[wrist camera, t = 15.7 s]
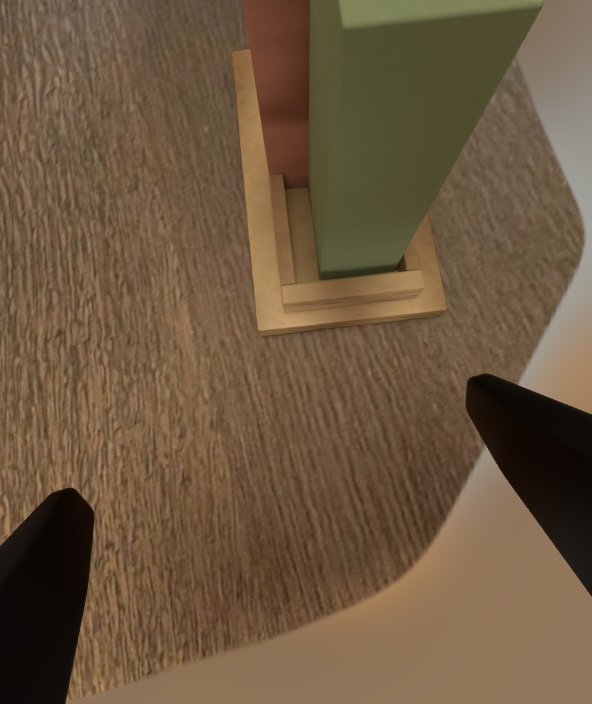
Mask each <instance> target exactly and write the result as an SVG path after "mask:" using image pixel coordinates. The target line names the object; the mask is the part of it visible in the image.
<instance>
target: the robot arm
mask: <svg viewBox="0 0 592 704" xmlns="http://www.w3.org/2000/svg"><path fill="white" fill-rule="evenodd" d="M466 409H467V412H468V414H469V416H470V418H471V420H472V422H473V423H474V425H475V427H476V428H477V430H478V432H479V434H480V435H481V437H482V439H483V441H484V442H485V444H486V446H487V448H488V449H489V451H490V453H491V455H492V456H493V458H494V460H495V461H496V463H497V465H498V467H499V468H500V470H501V471H502V473H503V475H504V476H505V477H506V479H507V480H508V482H509V483H510V484H511V486H512V487H513V489H514V490H515V492H516V493H517V494H518V496H519V497H520V498H521V500H522V501H523V502H524V504H525V505H526V507H527V508H528V509H529V511H530V512H531V513H532V515H533V516H534V518H535V519H536V520H537V522H538V523H539V525H540V526H541V527H542V528H543V530H544V531H545V533H546V534H547V536H548V537H549V538H550V540H551V541H552V542H553V544H554V545H555V547H556V548H557V549H558V551H559V552H560V553H561V555H562V556H563V558H564V559H565V560H566V562H567V563H568V564H569V566H570V567H571V569H572V570H573V571H574V573H575V574H576V575H577V577H578V578H579V580H580V581H581V582H582V584H583V585H584V587H585V588H586V589H587V591H588V592H589V594H590V595H591V596H592V414H589V413H587V412H584V411H582V410H579V409H577V408H574V407H572V406H569V405H567V404H564V403H562V402H559V401H556V400H554V399H551V398H549V397H546V396H544V395H541V394H539V393H536V392H533V391H531V390H529V389H526V388H524V387H521V386H519V385H516V384H514V383H511V382H509V381H506V380H504V379H501V378H499V377H496V376H493V375H491V374H487V373H485V374H481V375H477V376H473V377H471V378H469V379H468V381H467V391H466ZM93 529H94V512H93V510H92V508H91V506H90V505H89V504H88V503H87V502H86V501H85V499H84V498H83V497H82V496H81V495H80V494H79V493H78V491H77V490H76V489H73V488H66V489H63V490H59V491H55V492H53V493H51V494H50V495H49V496H48V497H47V498H46V499H45V500H44V501H43V502H42V503H41V504H40V505H39V506H38V507H37V508H36V509H35V510H34V511H33V512H32V513H31V514H30V516H29V517H28V518H27V519H26V520H25V521H24V522H23V523H22V524H21V525H20V526H19V527H18V528H17V529H16V530H15V531H14V532H13V533H12V534H11V535H10V536H9V537H8V538H7V540H6V541H5V542H4V543H3V544H2V545H1V546H0V704H65V703H66V698H67V693H68V688H69V683H70V677H71V672H72V667H73V662H74V657H75V652H76V647H77V642H78V637H79V632H80V627H81V622H82V616H83V611H84V606H85V601H86V595H87V589H88V581H89V572H90V561H91V550H92V540H93Z"/></svg>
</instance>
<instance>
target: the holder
mask: <svg viewBox="0 0 592 704" xmlns="http://www.w3.org/2000/svg"><path fill="white" fill-rule="evenodd" d="M243 5H244V12H245V19H246V25H247V32H248V39H249V45H250V49H247V50H238V51H232V61H233V71H234V82H235V93H236V104H237V114H238V125H239V136H240V147H241V157H242V168H243V179H244V190H245V200H246V211H247V222H248V233H249V243H250V254H251V265H252V276H253V286H254V297H255V308H256V319H257V329H258V332H259V334H260V336H268V335H277V334H285V333H294V332H303V331H312V330H320V329H329V328H338V327H347V326H355V325H364V324H373V323H382V322H391V321H399V320H408V319H417V318H426V317H434V316H440V315H441V314H442V313H444V312H445V311H446V310H447V305H446V300H445V295H444V290H443V285H442V280H441V275H440V270H439V265H438V260H437V255H436V250H435V245H434V240H433V235H432V230H431V225H430V220H429V215H428V211H427V213H426V215H425V217H424V219H423V220H422V222H421V224H420V226H419V227H418V229H417V231H416V233H415V235H414V236H413V238H412V240H411V242H410V243H409V245H408V247H407V249H406V251H405V252H404V254H403V256H402V258H401V259H400V261H399V263H398V265H397V267H396V268H395V270H394V271H393V272H387V273H379V274H370V275H361V276H352V277H343V278H334V279H325V280H320V278H319V270H318V263H317V255H316V247H315V239H314V231H313V223H312V215H311V207H310V200H309V192H308V162H309V41H310V0H243Z"/></svg>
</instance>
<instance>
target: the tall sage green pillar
mask: <svg viewBox="0 0 592 704" xmlns="http://www.w3.org/2000/svg"><path fill="white" fill-rule="evenodd" d="M542 6H543V0H310V41H309V162H308V192H309V200H310V207H311V215H312V223H313V231H314V239H315V247H316V255H317V263H318V270H319V278H320V280H325V279H334V278H343V277H352V276H361V275H370V274H379V273H387V272H393V271H394V270H395V268H396V267H397V265H398V263H399V261H400V259H401V258H402V256H403V254H404V252H405V251H406V249H407V247H408V245H409V243H410V242H411V240H412V238H413V236H414V235H415V233H416V231H417V229H418V227H419V226H420V224H421V222H422V220H423V219H424V217H425V215H426V213H427V211H428V210H429V208H430V206H431V204H432V203H433V201H434V199H435V197H436V195H437V194H438V192H439V190H440V188H441V186H442V185H443V183H444V181H445V179H446V178H447V176H448V174H449V172H450V170H451V169H452V167H453V165H454V163H455V162H456V160H457V158H458V156H459V154H460V153H461V151H462V149H463V147H464V146H465V144H466V142H467V140H468V138H469V137H470V135H471V133H472V131H473V130H474V128H475V126H476V124H477V122H478V121H479V119H480V117H481V115H482V114H483V112H484V110H485V108H486V106H487V105H488V103H489V101H490V99H491V97H492V96H493V94H494V92H495V90H496V89H497V87H498V85H499V83H500V81H501V80H502V78H503V76H504V74H505V73H506V71H507V69H508V67H509V65H510V64H511V62H512V60H513V58H514V57H515V55H516V53H517V51H518V49H519V48H520V46H521V44H522V42H523V41H524V39H525V37H526V35H527V33H528V32H529V30H530V28H531V26H532V24H533V23H534V21H535V19H536V17H537V15H538V14H539V12H540V10H541V8H542Z"/></svg>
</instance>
